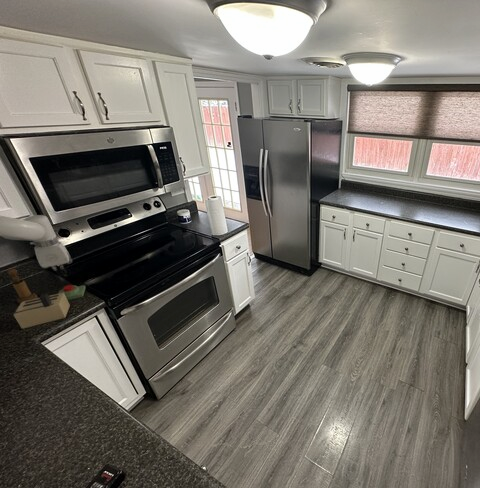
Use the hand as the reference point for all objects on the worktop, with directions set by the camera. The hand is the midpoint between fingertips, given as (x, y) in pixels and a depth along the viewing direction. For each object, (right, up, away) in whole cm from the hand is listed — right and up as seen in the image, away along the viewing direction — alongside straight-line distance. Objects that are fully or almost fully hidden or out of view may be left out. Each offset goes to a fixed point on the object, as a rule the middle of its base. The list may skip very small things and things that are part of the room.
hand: (63, 275), depth 129 cm
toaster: (+2, -18, -9) cm, 20 cm away
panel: (0, -11, +5) cm, 12 cm away
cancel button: (0, -8, +3) cm, 8 cm away
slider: (+7, -11, -14) cm, 19 cm away
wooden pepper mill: (-18, -13, 0) cm, 22 cm away
